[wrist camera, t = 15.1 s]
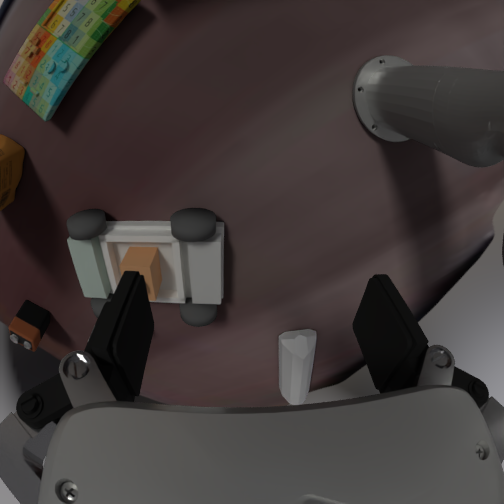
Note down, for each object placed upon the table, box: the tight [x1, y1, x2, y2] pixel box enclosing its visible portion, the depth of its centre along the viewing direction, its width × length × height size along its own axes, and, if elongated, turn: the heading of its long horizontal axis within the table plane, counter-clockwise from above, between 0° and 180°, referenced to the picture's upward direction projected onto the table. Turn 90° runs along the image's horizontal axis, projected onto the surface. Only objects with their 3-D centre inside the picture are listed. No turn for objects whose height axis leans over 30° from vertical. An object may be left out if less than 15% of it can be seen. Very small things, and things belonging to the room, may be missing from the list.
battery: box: [9, 300, 50, 351], centre depth 45 cm, size 4×7×10 cm, turn 61°
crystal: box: [279, 329, 317, 405], centre depth 57 cm, size 7×7×24 cm
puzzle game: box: [3, 0, 141, 121], centre depth 22 cm, size 12×5×20 cm
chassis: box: [67, 208, 224, 327], centre depth 41 cm, size 24×17×6 cm
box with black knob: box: [119, 247, 162, 301], centre depth 39 cm, size 6×4×6 cm
